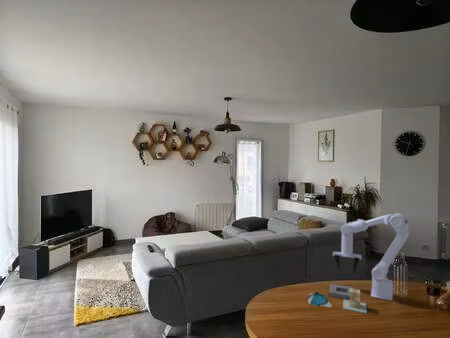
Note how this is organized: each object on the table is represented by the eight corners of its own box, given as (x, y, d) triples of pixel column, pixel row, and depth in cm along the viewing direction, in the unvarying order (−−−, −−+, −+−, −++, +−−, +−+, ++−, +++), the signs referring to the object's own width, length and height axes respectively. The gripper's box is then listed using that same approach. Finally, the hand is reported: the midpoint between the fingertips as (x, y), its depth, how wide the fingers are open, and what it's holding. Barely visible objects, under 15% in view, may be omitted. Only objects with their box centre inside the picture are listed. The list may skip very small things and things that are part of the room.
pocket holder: (354, 291, 157) (354, 287, 157) (354, 300, 146) (354, 296, 146) (330, 287, 161) (330, 283, 161) (328, 296, 150) (328, 292, 150)
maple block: (359, 304, 140) (359, 289, 140) (359, 308, 136) (360, 293, 136) (349, 302, 142) (349, 288, 142) (349, 306, 138) (349, 291, 138)
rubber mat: (365, 304, 142) (365, 303, 142) (366, 313, 133) (366, 312, 133) (343, 300, 146) (343, 299, 146) (342, 309, 136) (342, 308, 136)
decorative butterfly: (303, 290, 148) (322, 285, 148) (306, 302, 148) (325, 298, 148) (308, 299, 138) (329, 294, 138) (311, 312, 138) (332, 307, 138)
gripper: (332, 245, 161) (332, 270, 161) (361, 249, 155) (361, 274, 155) (333, 242, 167) (332, 266, 167) (361, 246, 162) (360, 270, 162)
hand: (346, 270), depth 162 cm, fingers open, 7 cm apart
